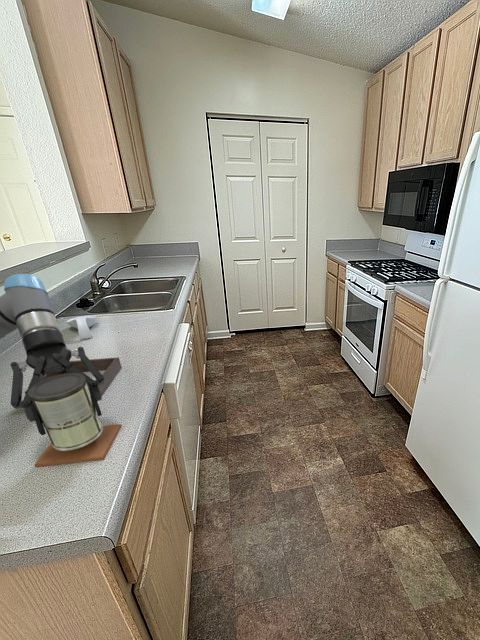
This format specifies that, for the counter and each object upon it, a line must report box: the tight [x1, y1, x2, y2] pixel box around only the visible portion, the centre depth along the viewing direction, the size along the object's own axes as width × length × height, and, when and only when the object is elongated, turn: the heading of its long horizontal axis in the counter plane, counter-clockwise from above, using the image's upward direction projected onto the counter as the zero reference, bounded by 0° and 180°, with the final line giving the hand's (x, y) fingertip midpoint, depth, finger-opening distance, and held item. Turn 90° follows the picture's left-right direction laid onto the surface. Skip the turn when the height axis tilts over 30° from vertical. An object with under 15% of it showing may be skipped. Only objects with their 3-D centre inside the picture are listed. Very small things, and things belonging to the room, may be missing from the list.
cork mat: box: [33, 423, 122, 468], centre depth 78 cm, size 14×12×1 cm
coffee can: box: [28, 373, 103, 451], centre depth 74 cm, size 10×10×14 cm
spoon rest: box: [66, 314, 98, 340], centre depth 144 cm, size 24×12×7 cm, turn 34°
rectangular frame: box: [24, 356, 123, 397], centre depth 103 cm, size 19×19×4 cm
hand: (72, 423), depth 73 cm, fingers closed on coffee can, 10 cm apart
